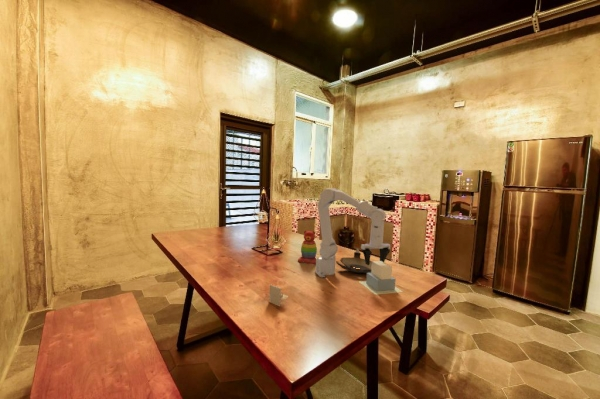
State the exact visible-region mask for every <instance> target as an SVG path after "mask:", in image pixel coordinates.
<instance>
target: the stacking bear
mask: <svg viewBox="0 0 600 399" xmlns="http://www.w3.org/2000/svg"><path fill="white" fill-rule="evenodd" d="M315 238H316V232H315V231H311V230H304V231H303V241H302V244H301V247H300V252H301V253H300V254H301V256H300V257H299V258H298V259H297V262H298V263H305V264H311V265H316V259H317V257H316V256H317V253H318V248H317V243H316V241H315Z"/></svg>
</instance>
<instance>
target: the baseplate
mask: <svg viewBox="0 0 600 399" xmlns="http://www.w3.org/2000/svg"><path fill="white" fill-rule="evenodd" d="M359 283H360V284H361V285H362V286H364V287H365V288H366V289H367V290H369V292H371V293H372V294H373V295H376V296H377V295H386V294H388V295H389V294H396V293H403V292H404V291H402V289H400V288H398V287H397V286H395V290H388V291H379V292H377V291H376V290H374V289H373V288H372V287H370V286H369V285H368V284H366V280H360V281H359Z"/></svg>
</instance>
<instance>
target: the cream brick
mask: <svg viewBox="0 0 600 399" xmlns="http://www.w3.org/2000/svg"><path fill="white" fill-rule="evenodd" d="M371 261H372V260H371ZM392 270H393V266H392V265H390V264H388V263H386V262H385V261H384V262H383V261H380V260H374V261H372V268H371V272H370V273H372V274H373V275H375V276H376V277H378V278H379V279H381V280H384V279H391V276H392V273H393V271H392Z"/></svg>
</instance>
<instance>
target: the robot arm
mask: <svg viewBox="0 0 600 399" xmlns="http://www.w3.org/2000/svg"><path fill="white" fill-rule="evenodd" d="M319 196H320V197H319V201H318V202H317V210H318V216H319V224H320V233H321V241H320V244H319V245H320V247H319V255H320V257H316V264H315V271H314V273H316V275H317V276H318V277H320V278H326V277H327V276H332V275H333V276H334V275H335V273H336V272H335V271H336V270H335V269H336V254H337V252H338V250H339V249H338V245H337V243H336V241H335V238H333V231H332V223H331V215H330V210H329V208H330V207H331V205H332V204H334V202H336V201H342V202H344V203H347V204H348V205H350V206H353V207H355V208H356V211H357V212H358V213H360V214H362V215H363V216H365V217H367V218H369V219H370V220H371V224H370V234H369V235H370V236H369V243H365V244H360V249H361V252H362V254H363V257H364V259H365V263H366V264H367V265H369V264H370V261H371V256H372V253H373V252H372V251H371V250H378V249H379V261H383V262H384V263H385V262H386V258H387V257H388V255H389V253H390V252H391V244H390V243H383V242H384V234H385V232H384V230H385V219H386V217H387V215H386V214H387V213H386V212H385V210H384V209H382V208H378V206H374V205H372V204H370V203H369V201H368V200H361V201H359V200H358V199H356V198H354V197H352V196H351V195H349V194H348V193H346V192H344V191H342V190H341V189H338V188H336V187H333V188H324V190H322V191H321V192H320V193H319Z"/></svg>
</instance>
